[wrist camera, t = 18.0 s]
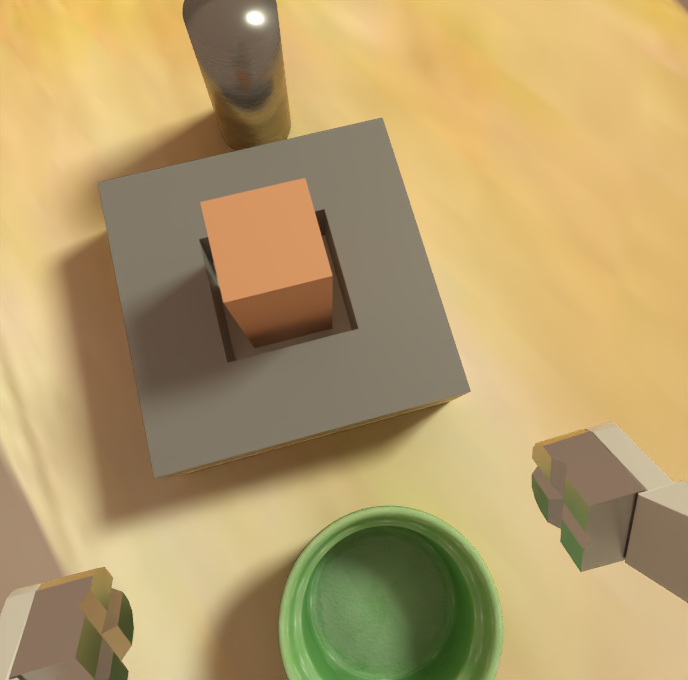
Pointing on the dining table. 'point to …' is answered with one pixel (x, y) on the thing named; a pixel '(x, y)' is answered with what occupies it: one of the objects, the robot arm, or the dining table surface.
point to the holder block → (294, 354)
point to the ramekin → (390, 602)
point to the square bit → (271, 262)
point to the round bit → (241, 67)
